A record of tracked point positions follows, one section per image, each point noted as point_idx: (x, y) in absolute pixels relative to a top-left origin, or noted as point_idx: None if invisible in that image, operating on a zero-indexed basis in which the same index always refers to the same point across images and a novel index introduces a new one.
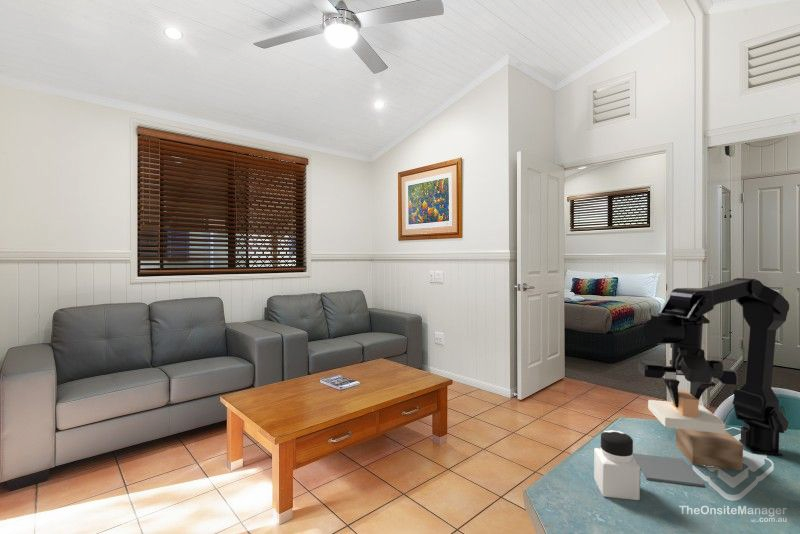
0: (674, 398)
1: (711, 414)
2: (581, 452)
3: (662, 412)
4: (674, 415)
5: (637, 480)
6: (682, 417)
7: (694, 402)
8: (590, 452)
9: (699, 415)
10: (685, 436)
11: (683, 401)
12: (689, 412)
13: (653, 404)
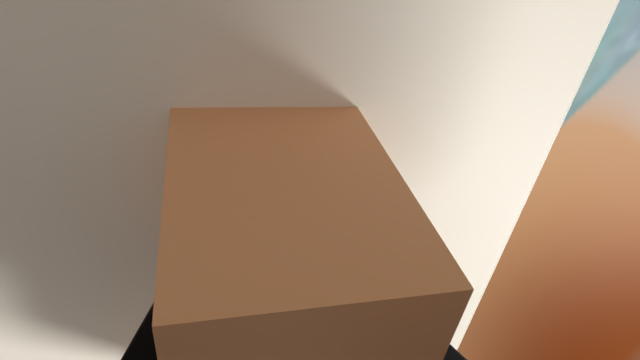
0: (449, 347)
1: None
2: (623, 60)
3: (533, 145)
4: (459, 88)
5: None
6: (398, 41)
7: (243, 263)
8: (588, 69)
9: (124, 184)
10: None
11: (440, 247)
12: (292, 136)
13: (471, 309)
